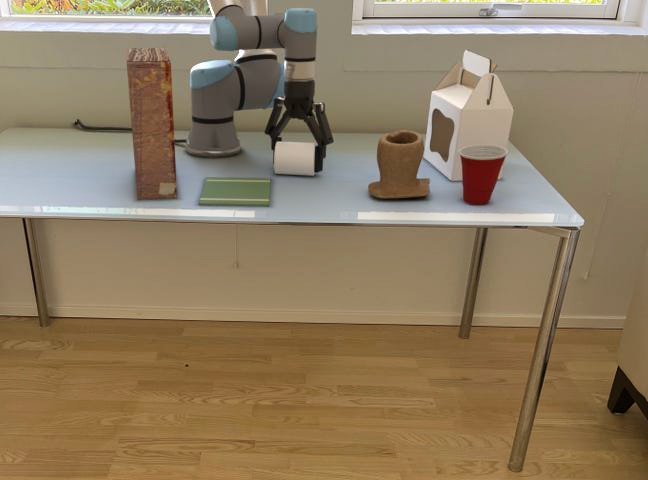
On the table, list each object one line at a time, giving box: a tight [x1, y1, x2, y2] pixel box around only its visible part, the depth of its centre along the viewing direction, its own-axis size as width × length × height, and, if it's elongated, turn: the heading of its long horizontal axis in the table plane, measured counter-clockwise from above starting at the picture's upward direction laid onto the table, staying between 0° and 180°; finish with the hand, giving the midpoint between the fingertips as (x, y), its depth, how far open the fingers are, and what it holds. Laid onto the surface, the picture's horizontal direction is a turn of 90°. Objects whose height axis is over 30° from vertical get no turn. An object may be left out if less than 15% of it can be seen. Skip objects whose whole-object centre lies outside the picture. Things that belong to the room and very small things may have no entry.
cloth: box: [198, 176, 272, 207], centre depth 173 cm, size 16×20×1 cm
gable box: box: [423, 49, 515, 182], centre depth 184 cm, size 22×13×28 cm, turn 7°
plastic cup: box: [458, 145, 509, 206], centre depth 165 cm, size 11×11×12 cm
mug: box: [273, 141, 317, 177], centre depth 186 cm, size 12×10×8 cm
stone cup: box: [367, 129, 431, 199], centre depth 167 cm, size 15×12×15 cm
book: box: [126, 44, 178, 201], centre depth 171 cm, size 25×9×30 cm, turn 9°
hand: (297, 167), depth 187 cm, fingers open, 12 cm apart
